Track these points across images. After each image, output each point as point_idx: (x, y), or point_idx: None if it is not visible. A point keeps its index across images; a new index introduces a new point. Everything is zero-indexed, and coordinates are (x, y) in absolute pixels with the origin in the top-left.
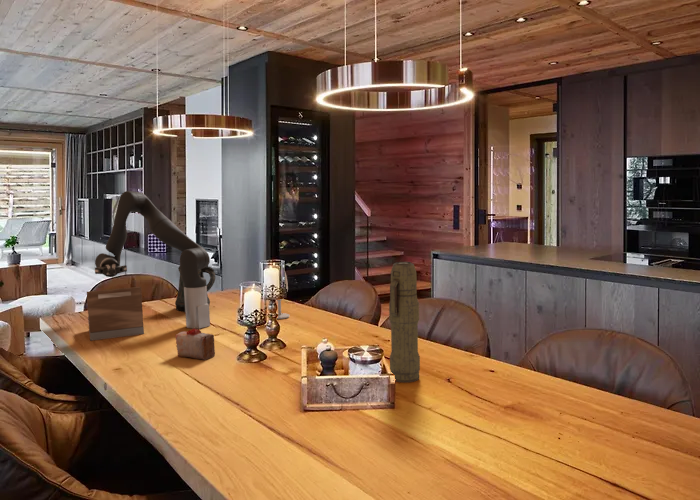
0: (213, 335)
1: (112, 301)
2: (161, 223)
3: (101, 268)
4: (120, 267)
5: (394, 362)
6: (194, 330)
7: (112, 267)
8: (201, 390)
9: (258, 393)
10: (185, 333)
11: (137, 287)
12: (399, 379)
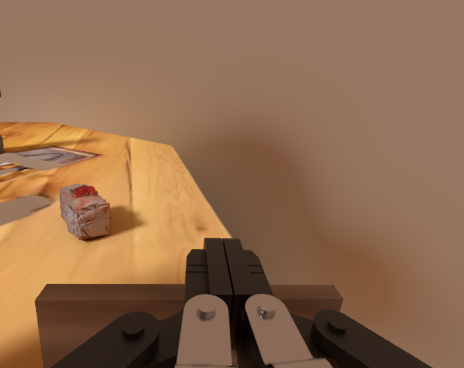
0: (61, 189)
1: None
2: None
3: (382, 338)
4: (90, 345)
5: (1, 138)
6: (84, 187)
7: (224, 352)
8: (138, 178)
9: (104, 167)
10: (94, 198)
11: (64, 289)
12: (3, 150)
